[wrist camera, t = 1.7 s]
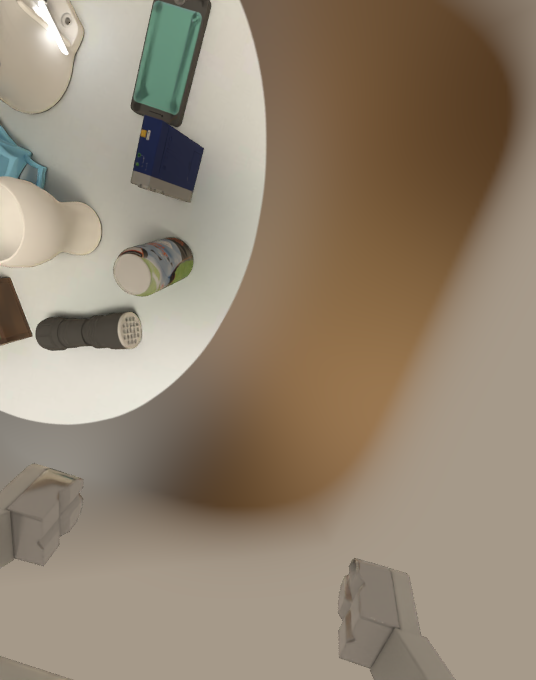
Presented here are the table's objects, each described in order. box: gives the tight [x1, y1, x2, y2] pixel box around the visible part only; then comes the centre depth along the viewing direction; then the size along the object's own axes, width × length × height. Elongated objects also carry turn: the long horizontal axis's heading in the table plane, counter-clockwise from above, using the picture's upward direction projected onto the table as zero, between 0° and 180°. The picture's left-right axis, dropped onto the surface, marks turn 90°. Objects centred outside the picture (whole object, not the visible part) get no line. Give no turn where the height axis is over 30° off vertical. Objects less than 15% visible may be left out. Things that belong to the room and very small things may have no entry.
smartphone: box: [131, 0, 211, 127], centre depth 50 cm, size 7×1×15 cm
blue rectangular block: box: [131, 115, 204, 202], centre depth 48 cm, size 7×2×12 cm, turn 162°
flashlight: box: [36, 312, 142, 351], centre depth 59 cm, size 15×5×5 cm, turn 95°
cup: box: [0, 176, 101, 268], centre depth 51 cm, size 11×11×15 cm
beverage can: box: [113, 238, 193, 296], centre depth 51 cm, size 6×7×12 cm
